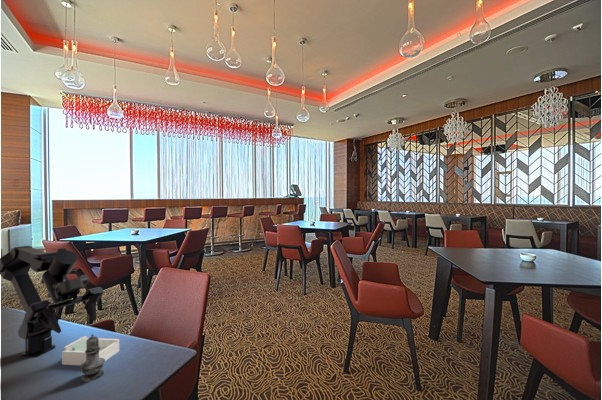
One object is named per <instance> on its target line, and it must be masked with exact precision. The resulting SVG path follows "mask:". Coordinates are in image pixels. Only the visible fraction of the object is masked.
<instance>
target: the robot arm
mask: <svg viewBox="0 0 602 400" xmlns="http://www.w3.org/2000/svg"><path fill="white" fill-rule="evenodd" d="M78 259H79V256H78V254H77V253H76V252H74V251H72V250H69V249H68V250H67V248H66V247H63V248H57V250H56V251H43V250H40V249H37V248H34V247H32V246H31V245H23V246H16V247H12V248H10V251H9V252H8V253H5V254H4V255H2V256H1V257H0V276H1V278H2V279H3V280H6V281H9V282H11V284H12V286H13V288H14V291H15V293H16V295H17V297H18V299H19V301H20V303H21V306H22V308H23V309H24V312H25V314H24V317H23V319H22V323H21V325H20V327H19V328H18V331H17V332H18V337H19V338H21V339H23V340H24V341H25V344H24V346H25V351H24V352H22V353H20V354H19V355H20V356H21V357H39V356H41V355H42V354H45V353H47V352H49V351H51V350H53V349H54V348H56V344H53V337H52V331H54V332H55V333H58V334H61V332H62V329H61V326H60V324H59V319H60V316H59V314H58V312H57V309H60V308H65V307H68V306H72V305H75V304H79V303H82V304H83V305H85V306H84V309H85V311H86V313H87V314H88V316H89V317H90V319H91V320H92V321H93V322H95V321H96V320H97V303H98V302H99V301H100V299H101V298H102V296H103V295H104V293H105V291H104V290H103V288H102V287H101V286H97V287H93V288H90V289H87V290H86V292H85V293H84V294H82V295H79V294H80V293H81V289H84V288H85V287H86V286H87V285H90V278H89V277H88V275H87V274H82V275H79V276H77V278H72V279H70V278H69V277H68V275H69V274H70V273H71V272H72V270H73V268H74V266H75V265H76V263H77V261H78ZM30 269H31V270H32V271H34V272H35V273H41V272H43V273H42V276H41V281H40V283H41V284H42V285H43V284H44V285H45V287H46V291H47V292H48V293H47V295H46V296H47V297H48V298H50V299H51V301H52V302H50V301H49V300H47V299H45V300H42V298H41V296H40V294H39V291H38V290H37V288H36V286H35V284H34V282H33V280H32V278H31V275H29V272H30Z"/></svg>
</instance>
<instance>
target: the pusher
mask: <svg viewBox="0 0 602 400" xmlns="http://www.w3.org/2000/svg"><path fill="white" fill-rule="evenodd" d="M87 338H88V339H89V338H90V337H87ZM88 339H86V340H84V341H82V342H81V343H79V344H77V345H75V346H74V347H72V351H86V350H87V348H86V342H87V340H88Z"/></svg>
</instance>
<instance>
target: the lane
mask: <svg viewBox="0 0 602 400" xmlns="http://www.w3.org/2000/svg"><path fill="white" fill-rule="evenodd" d="M88 338H89V337H87V335H83V336H82V337H80V338H78V339H77V340H75V341H72V342H70V343H69V344H67V345H65V346H63V347H64V348H63V350H62V351H61V365H65V366H81V364H83V363H84V362H85V361H86V353H85V351H72V347H74V346H75V345H77V344H79V343H81V342H82V341H84V340H86V339H88ZM98 339H99V347H100V350H99V357H100V358H104V359H105V362H106V361H107V360H109V359H111V358H112V357H113V356H115V355H116V354H118V353H119V352H120V339H119V338H100V337H98Z"/></svg>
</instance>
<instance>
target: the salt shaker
mask: <svg viewBox="0 0 602 400" xmlns="http://www.w3.org/2000/svg"><path fill="white" fill-rule="evenodd" d="M88 338H89V339H88V340H87V342H86V348H87V350H86V351H85V353H86V361H85V362H84V363H83V364H81V365H79V368H80V370H81V373H82V374H84V375H82V377H81V378H80V379H81V381H82V382H92V381H95V380H97V379H99V378H101V377H102V376H103V375H104V373H105V371H104V370H103V369H102V368H103V367H104V364H105V362H106V361H105V359H104V358H100V357H99V350H100V347H99V339H98V338H99V337H98V336H95V334H94V333H92V334H91V337H88Z"/></svg>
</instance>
